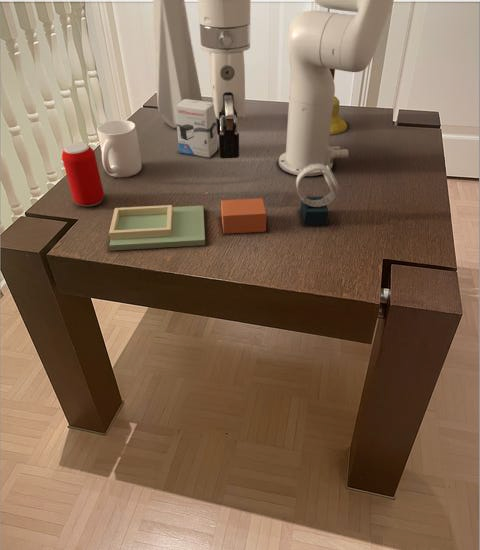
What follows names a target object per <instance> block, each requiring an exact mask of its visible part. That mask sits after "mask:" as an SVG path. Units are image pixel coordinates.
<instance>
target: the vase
mask: <svg viewBox="0 0 480 550" xmlns="http://www.w3.org/2000/svg"><path fill="white" fill-rule="evenodd" d="M152 3H153V28H154V29H153V31H154V52H155V53H154V55H155V77H156V78H155V79H156V100H157V102H156V103H157V110H158V112H159V114H160V116H161V117H162V119H163V120H164V122H165V123H166V124H167V125H168V126H170V127H172V128H173V129H177V122H176V112H175V105H177V104H178V103H180V102H181V101H182V100H184V99H190V100H197V101H203V98H202V91H201V86H200V79H199V74H198V67H197V63H196V57H195V52H194V47H193V41H192V35H191V28H190V24H189V19H188V13H187V7H186V2H185V0H152Z"/></svg>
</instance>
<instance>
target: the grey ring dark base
mask: <svg viewBox="0 0 480 550" xmlns="http://www.w3.org/2000/svg"><path fill="white" fill-rule="evenodd" d="M319 170H320V171H322V173H323V174H322V176H323V177H324V179H325V183H326V184H327V186H328V187H329V189H330V191H329V193H328V194H327V195H326V196H306V194H305V193H304V192H303V190H302V186H301V181H302V180H303V178H305V177H306V176H305V175H307V174H308V173H309V172H313V171H319ZM336 179H337V178H336V177H335V175H334V173H333V171H332V168H331V169H330V167H329V166H328V165H327V166H325V165H324V164H320V163H318V164H317V163H315V164H311V165H308V166H306V167H305V168H303V169H302V170H301V171H300V173H299V174H298V175H296V179H295V186H296V187H295V188H296V191H297V195H298V197H299V199H300V214H301V218H302V222H303V226H304V227H310V226H311V227H314V226H315V227H318V226H320V227H321V226H322V227H323V226H327V225H328V219H329V213H330V212H329V208H328V205H329V204H330V203H331V202H333V201H334V200H335V198H336V197H337V195H338V190H340V187H339V184H338V181H337V180H336Z"/></svg>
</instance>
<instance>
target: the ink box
mask: <svg viewBox="0 0 480 550" xmlns="http://www.w3.org/2000/svg"><path fill="white" fill-rule="evenodd" d="M175 112H176V122H177V128H176V130H177V131H176V132H177V139H178V141H177V142H178V150H179V151H178V152H179V154H187V155H192V156H199V157H204V158H211V157H212V156H213V155H214V154H215V153H216V152H217V151H218V133H217V118H216V116H215V110H214V104H213V101H212V102H211V101H204V100H202V101H197V100H190V99H184V100H182V101H181V102H180V103H178V104H177V105H175Z"/></svg>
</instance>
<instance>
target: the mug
mask: <svg viewBox="0 0 480 550" xmlns="http://www.w3.org/2000/svg"><path fill="white" fill-rule="evenodd" d="M96 132H97V136H98V140H99V146H100V150H101V161H102V166H103V170H104V171H105V172H106V173H107V174H108V175H109V176H111V177H112V178H113V177H114V178H119V179H122V178H129V177H133V176H135V175H137V174H138V173H139V172H140V171H141V170H142V167H143V166H142V157H141V151H140V146H139V145H140V143H139V139H138V138H139V137H138V133H137V132H138V131H137V125H136V124H135V122H133V121H132V120H131V121H130V120H127V119H114V120H109V121H105V122H103V123H100V124H98V126H97V127H96Z"/></svg>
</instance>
